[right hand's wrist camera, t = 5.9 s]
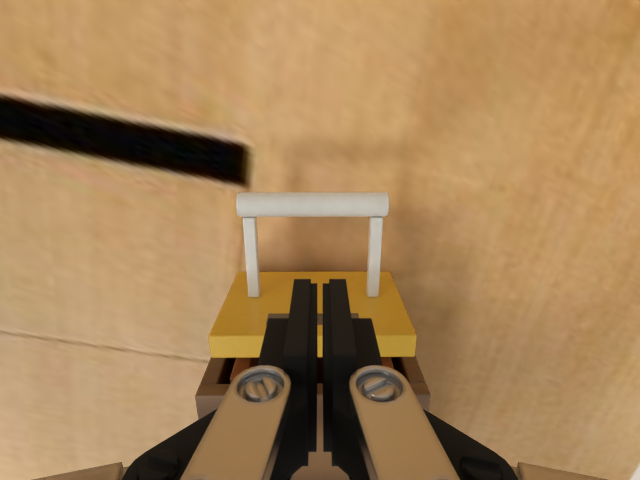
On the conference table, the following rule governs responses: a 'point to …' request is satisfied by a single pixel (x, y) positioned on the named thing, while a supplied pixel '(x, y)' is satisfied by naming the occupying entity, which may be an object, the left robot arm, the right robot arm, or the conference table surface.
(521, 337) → the conference table surface
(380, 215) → the drawer
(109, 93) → the conference table surface
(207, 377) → the cabinet
